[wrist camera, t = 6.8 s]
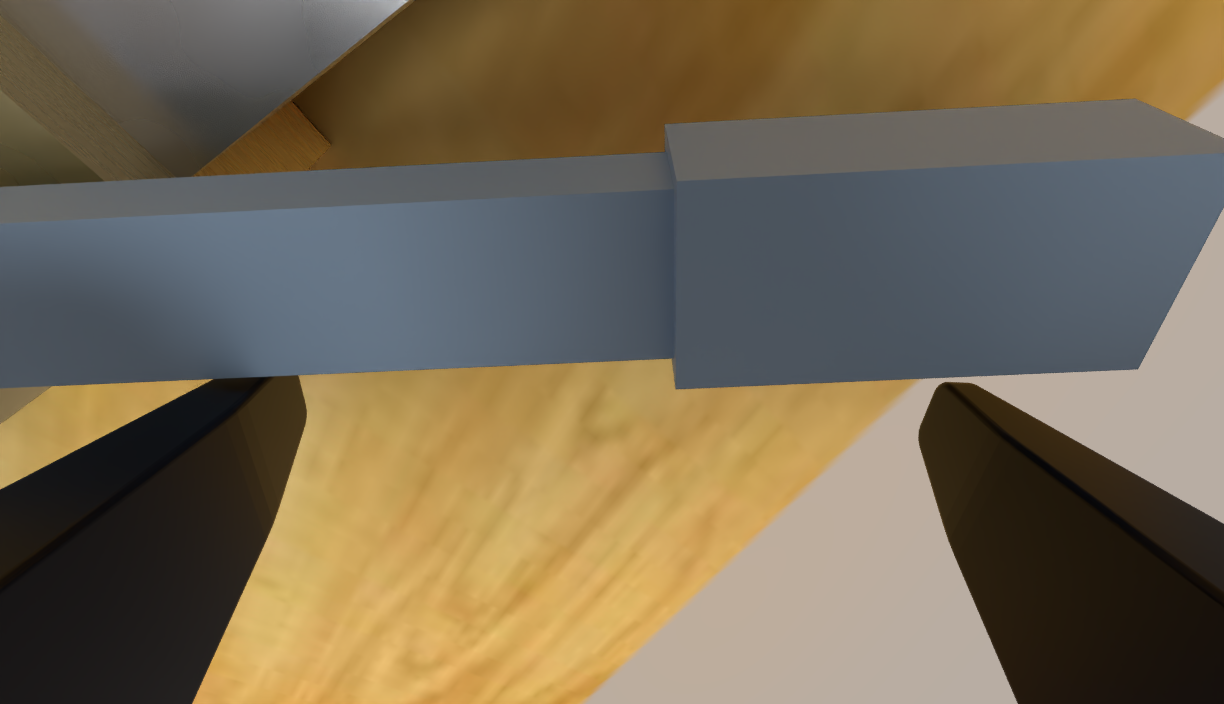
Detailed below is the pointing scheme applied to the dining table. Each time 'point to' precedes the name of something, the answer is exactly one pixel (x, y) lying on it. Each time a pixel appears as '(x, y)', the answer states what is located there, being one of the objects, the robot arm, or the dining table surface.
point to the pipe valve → (165, 90)
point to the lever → (638, 256)
